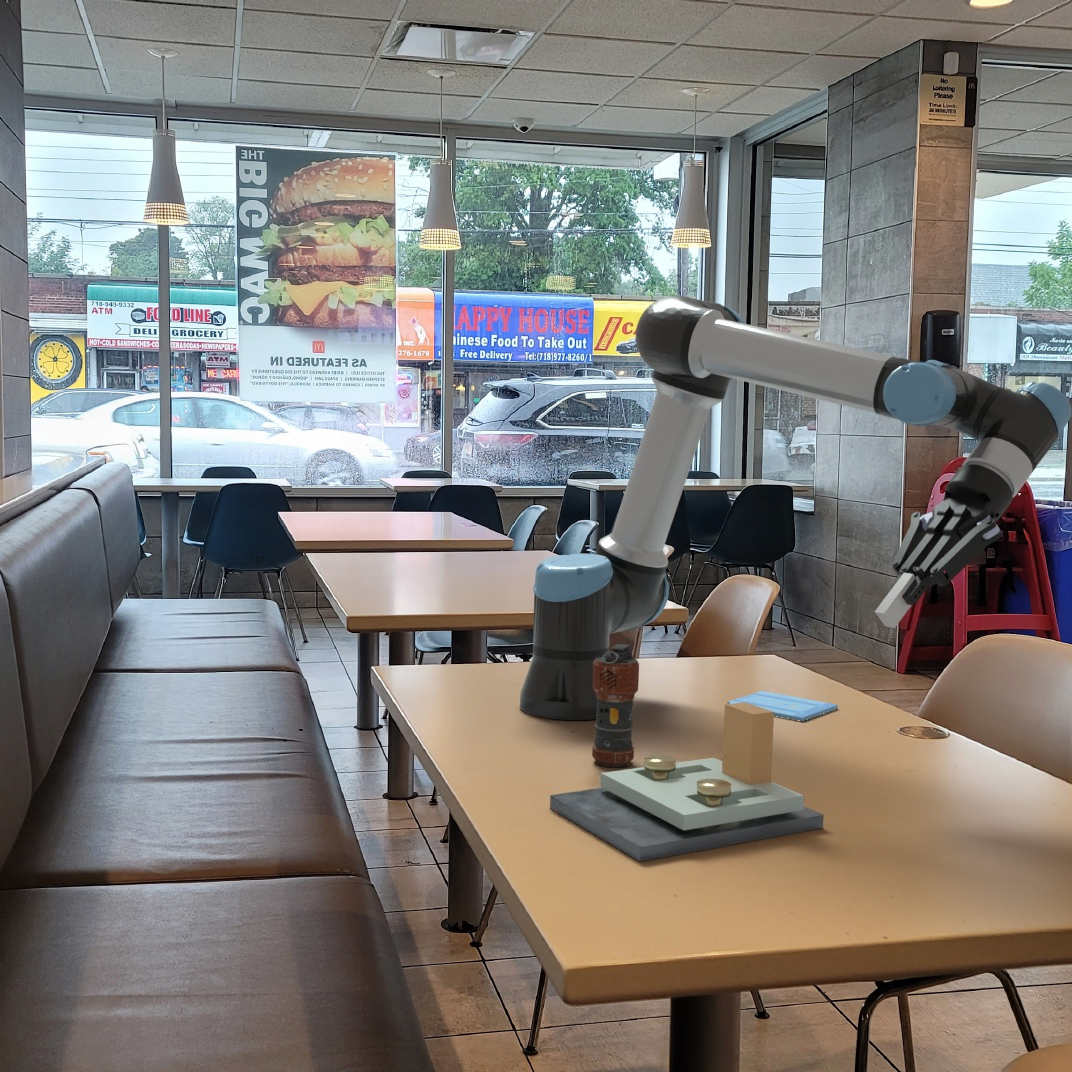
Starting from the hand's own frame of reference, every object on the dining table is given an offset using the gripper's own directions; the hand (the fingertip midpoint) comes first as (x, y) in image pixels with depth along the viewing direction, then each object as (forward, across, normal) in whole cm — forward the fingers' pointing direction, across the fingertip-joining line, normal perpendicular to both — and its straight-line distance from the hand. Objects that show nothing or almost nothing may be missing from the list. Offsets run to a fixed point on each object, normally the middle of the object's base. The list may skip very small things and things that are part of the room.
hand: (884, 619), depth 140 cm
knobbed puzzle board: (+32, 0, +6) cm, 33 cm away
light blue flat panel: (+3, +37, -28) cm, 46 cm away
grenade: (+31, +22, +2) cm, 39 cm away
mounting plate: (+35, 0, +6) cm, 35 cm away
